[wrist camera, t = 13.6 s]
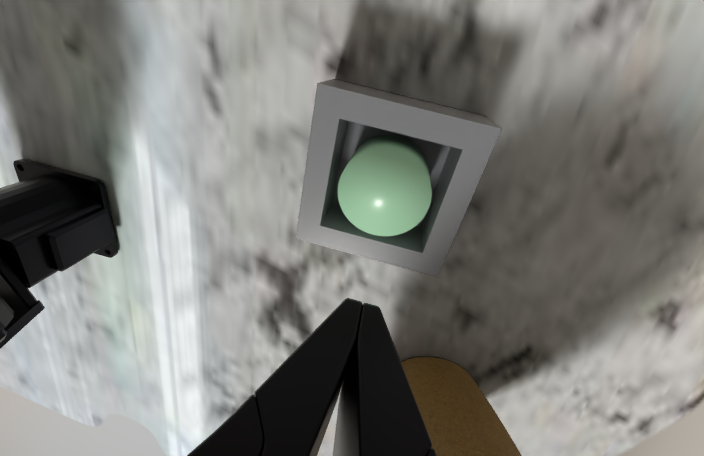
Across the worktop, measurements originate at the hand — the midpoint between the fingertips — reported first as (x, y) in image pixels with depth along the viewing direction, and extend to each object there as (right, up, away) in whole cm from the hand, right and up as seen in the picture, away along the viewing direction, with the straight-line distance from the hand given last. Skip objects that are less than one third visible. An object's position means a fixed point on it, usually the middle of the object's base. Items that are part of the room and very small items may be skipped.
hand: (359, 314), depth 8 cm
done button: (+2, +5, +10) cm, 11 cm away
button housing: (+2, +6, +10) cm, 12 cm away
